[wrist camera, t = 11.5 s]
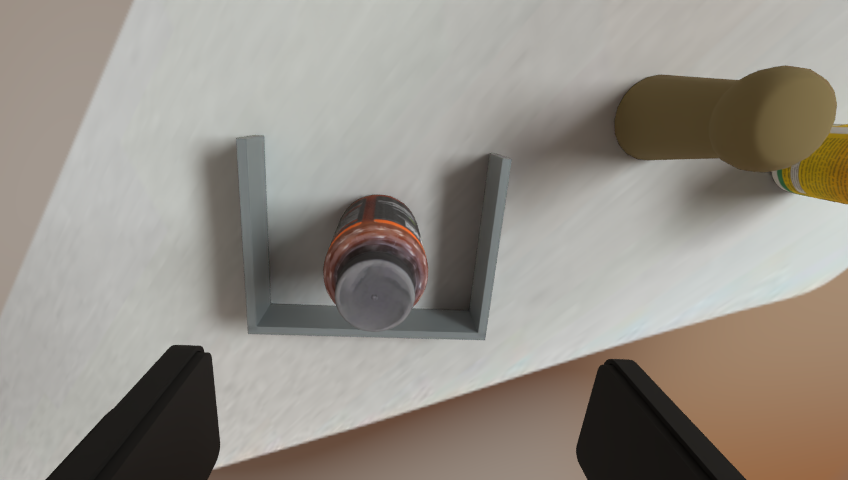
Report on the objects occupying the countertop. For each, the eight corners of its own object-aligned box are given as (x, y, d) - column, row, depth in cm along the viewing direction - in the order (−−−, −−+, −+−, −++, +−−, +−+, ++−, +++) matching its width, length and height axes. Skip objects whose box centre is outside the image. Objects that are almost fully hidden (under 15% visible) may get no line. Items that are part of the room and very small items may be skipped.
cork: (610, 162, 30) (729, 189, 19) (618, 76, 28) (756, 54, 17) (686, 157, 30) (843, 181, 20) (699, 72, 28) (881, 48, 18)
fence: (254, 134, 27) (235, 137, 24) (497, 153, 29) (511, 159, 25) (263, 310, 31) (248, 333, 28) (475, 317, 33) (485, 340, 29)
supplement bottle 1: (331, 256, 30) (298, 335, 19) (350, 182, 28) (327, 224, 18) (405, 275, 31) (413, 361, 20) (428, 205, 30) (450, 258, 19)
